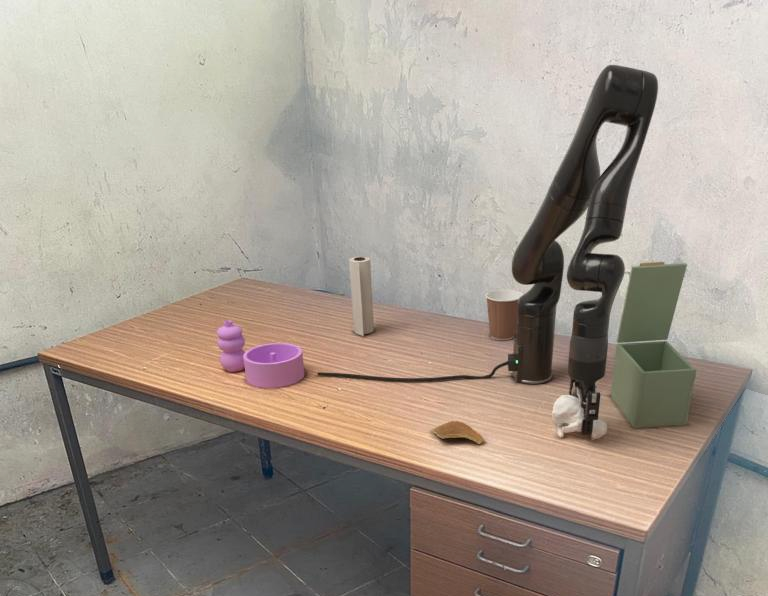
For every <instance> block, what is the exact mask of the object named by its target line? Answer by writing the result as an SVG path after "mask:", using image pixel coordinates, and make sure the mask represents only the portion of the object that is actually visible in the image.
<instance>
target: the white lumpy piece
mask: <svg viewBox="0 0 768 596" xmlns="http://www.w3.org/2000/svg"><path fill="white" fill-rule="evenodd" d="M589 413H591V410H590V411H589ZM551 417H552V424H553V427H554V430H555V432H556V434H557V435H558V437H559V438H564V436H565V434H566V433H573V432H580V433H581V427H582V410H581V409H580V408H579V400H578V398H576V397H574V396H572V395H569V394H562V395H560V396H559V397H558V398H557V399H556V400H555V401H554V404H553V407H552V412H551ZM607 431H608V424H607V423H606V421H605V420H603V419H601V418H599V417H598V420H594V421H593V430H592V434H591V435H590V438H591V441H593V440H599V439H601V438H602V437H603V436H605V435H606V433H607ZM590 438H589V439H590Z"/></svg>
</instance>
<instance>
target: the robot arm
mask: <svg viewBox="0 0 768 596" xmlns="http://www.w3.org/2000/svg"><path fill="white" fill-rule="evenodd" d="M658 94H659V81H658V77H657V76H656V74H654V73H653V72H650V71H647V70H643V69H638V68H633V67H629V66H624V65H618V64H609V65H607V66H605V67H604V68H603V69H602V70H601V72H600V73H599V74H598V77H597V78H596V80H595V82H594V84H593V87H592V89H591V92H590V93H589V96H588V99H587V102H586V104H585V107H584V109H583V112H582V114H581V118H580V121H579V123H578V125H577V128H576V129H575V134H574V135H573V137H572V139H571V142H570V144H569V146H568V149H567V151H566V153H565V155H564V157H563V159H562V161H561V162H560V164H559V166H558V169H557V171H556V172H555V174H554V177H553V178H552V181H551V183H550V185H549V187H548V189H547V192H546V195H545V196H544V199H543V201H542V202H541V204H540V207H539V209H538V210H537V212H536V215H535V216H534V219H533V220H532V222H531V224H530V225H529V227H528V228H527V231H526V232H525V233H524V235H523V237H522V238H521V240H520V242H519V243H518V245H517V247H516V249H515V251H514V253H513V256H512V260H511V274H512V277H513V279H514V280H515V282H516V283H518V284H520V285H525V286H529V285H533V286H532V287H531V288H530V289H529V290H528V291H527V292H525V293H523V295H522V296H521V297H520V298H519V300H518V307H517V328H516V333H515V337H514V338H513V351H512V353H507V361H504V362H502V363H500V364H497V365H496V366H494V367H493V368H492V371H491V372H490V373H489V374H486V375H481V376H480V375H479V376H478V375H468V374H460V375H459V374H458V375H447V376H435V377H389V376H375V375H367V374H366V375H364V374H354V373H344V372H343V373H341V372H323V371H318V372H317V373H316V374H317V376H323V377H324V376H325V377H342V378H356V379H365V380H376V381H389V382H390V381H391V382H435V381H447V380H459V379H466V380H468V379H469V380H487V379H490V378H492V377H493V376H494V375H495V373H496V372H497V370H499V369H501V368H504V367H506V366H507V371H508V372H512V377H513V378H514V380H515V382H516V383H518V384H519V383H522V384H528V385H538V384H539V385H540V384H544V383H548V382H550V381H551V380H552V378H553V377H552V376H553V374H552V372H553V369H552V368H553V359H554V358H553V356H554V345H555V344H554V343H555V332H556V318H557V306H558V304H559V301H560V298H561V293H562V285H563V277H564V269H565V255H564V251H563V248H562V246H561V244H560V243H559V242H558V241H556V240H557V239H558V238H559V237H560V236H561V235H562V234H564V232H566V231H567V230H568V229H569V228H571V227H572V226H573V225H574V224H575V223H576V222H577V221H578V220H579V219H580V218H581V217H582V216H583V215H584V214H585V213H586V215H585V221H584V228H583V231H582V233H581V237H580V240H579V242H578V244H577V246H576V249H575V251H574V253H573V255H572V257H571V259H570V262H569V264H568V267H567V270H566V280H567V283H568V285H569V287H570V288H571V289H573V290H574V291H579V292H580V291H582V292H594V293H601V295H600V297H599V298H595V299H589V300H583V301H580V302H578V303H577V304H575V307H574V309H573V317H572V330H571V337H570V341H569V351H568V362H567V363H568V364H567V375H568V377H569V378H570V379H569V391H568V395H571V396H574V397H576V398H578V400H579V408H580V409H581V410H582V427H581V432H580V433H581V436H591V435H592V430H593V421H594V420H598V418H599V414H600V404H601V396H602V395H601V391H600V392H598V387H597V385H596V382H598V381H600V380H602V379H603V378H604V377H605V375H606V368H607V358H608V349H609V326H610V319H611V312H612V307H613V305H614V301H615V298H616V296H617V293H618V291H619V288H620V286H621V284H622V282H623V279H624V275H625V271H626V266H625V262H624V260H623V258H622V257H621V256H620V255H618V254H613V253H598V252H593V251H594V249H595V248H596V247H598V246H599V245H602V244H606V243H612V242H615V241H618V240H619V239H620V238H621V236H622V233H623V227H624V222H625V216H626V210H627V205H628V201H629V200H628V199H629V195H630V190H631V186H632V182H633V179H634V175H635V172H636V169H637V166H638V164H639V161H640V157H641V155H642V152H643V148H644V145H645V142H646V138H647V135H648V131H649V128H650V125H651V122H652V118H653V116H654V112H655V108H656V105H657V101H658ZM604 123H609V124H614V125H619V126H623V127H626V132H625V137H624V140H623V142H622V145H621V147H620V149H619V151H618V152H617V154H616V155H615V157H614V158H613V159H612V161H611V162H610V163H609V165H607V167H606V168H605V169H604V170H603V172H602V173H601V165H600V160H599V155H598V146H597V145H598V144H597V140H598V134H599V132H600V130H601V127H602V126H603V124H604ZM589 411H591V413H589Z"/></svg>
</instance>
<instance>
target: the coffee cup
mask: <svg viewBox="0 0 768 596" xmlns="http://www.w3.org/2000/svg"><path fill="white" fill-rule="evenodd" d="M522 295H524V293H522V292H521V291H518V290H514V289H495V290H491V291H489V292H487V293H486V294H485V298H486V307H487V318H488V328H489V329H488V330H489V334H490V338H491V339H492V340H493V339H494V340H496V341H508V340H512V339H514V338H516V329H517V307H518V300H519V298H520V297H521V296H522Z"/></svg>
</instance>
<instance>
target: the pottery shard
mask: <svg viewBox="0 0 768 596" xmlns="http://www.w3.org/2000/svg"><path fill="white" fill-rule="evenodd" d="M432 433H433V434H434V435H436V436H437V437H438V438H441V439H442V440H444V439H455V438H456V439H458V438H465V439H469V440H470V441H473V442H474V443H476V444H479V445H481V444H482V443H484V442H485V440H484V437H483V436H482V435H481V434H480V433H479V432H477V431H476V430H475V429H473V428H472V427H471V426H470V425H468V424H467V423H465V422H463V421H457V420H451V421H448V422H446V423H443V424H441V425H438V426H436V427H434V428H433V429H432Z"/></svg>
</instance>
